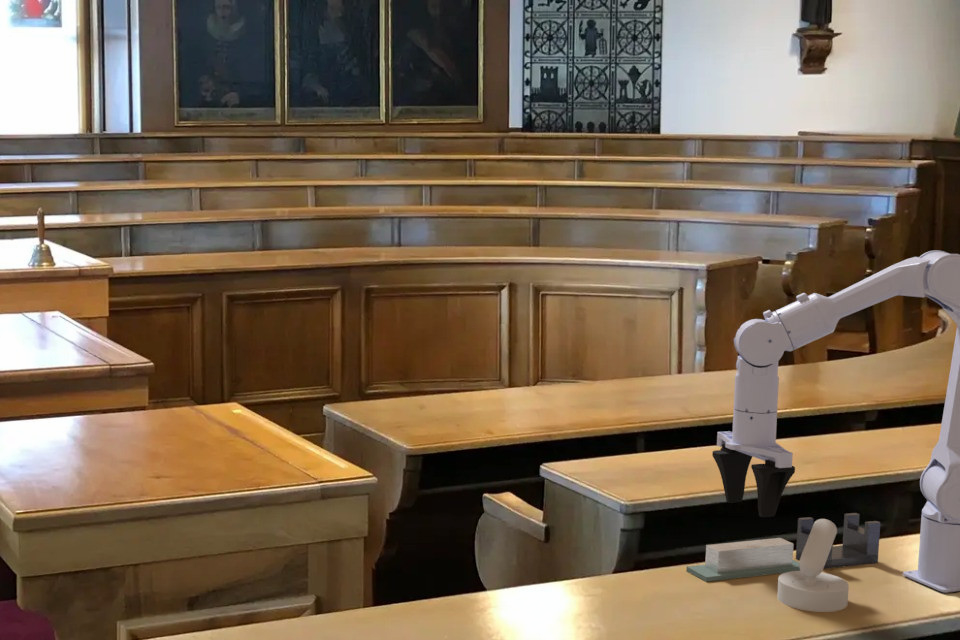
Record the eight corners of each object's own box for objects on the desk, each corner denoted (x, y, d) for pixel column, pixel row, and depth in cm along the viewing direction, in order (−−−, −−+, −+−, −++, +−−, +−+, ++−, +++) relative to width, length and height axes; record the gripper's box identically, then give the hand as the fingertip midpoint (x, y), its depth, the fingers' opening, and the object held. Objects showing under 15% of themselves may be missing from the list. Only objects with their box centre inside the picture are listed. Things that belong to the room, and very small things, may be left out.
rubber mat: (784, 560, 178) (785, 556, 178) (806, 570, 174) (806, 566, 174) (686, 570, 172) (686, 566, 172) (706, 581, 167) (706, 577, 167)
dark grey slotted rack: (853, 552, 183) (855, 512, 182) (877, 562, 178) (880, 522, 177) (795, 558, 179) (798, 518, 178) (819, 569, 174) (821, 528, 174)
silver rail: (779, 558, 177) (780, 537, 176) (792, 565, 174) (793, 543, 173) (705, 566, 172) (706, 545, 172) (717, 573, 169) (718, 551, 169)
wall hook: (860, 521, 163) (843, 540, 154) (856, 594, 164) (839, 616, 155) (793, 512, 167) (773, 529, 158) (789, 582, 168) (769, 604, 159)
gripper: (700, 401, 175) (695, 498, 177) (762, 421, 162) (756, 525, 164) (743, 399, 178) (738, 494, 180) (807, 418, 165) (802, 521, 166)
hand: (750, 509), depth 172 cm, fingers open, 7 cm apart
